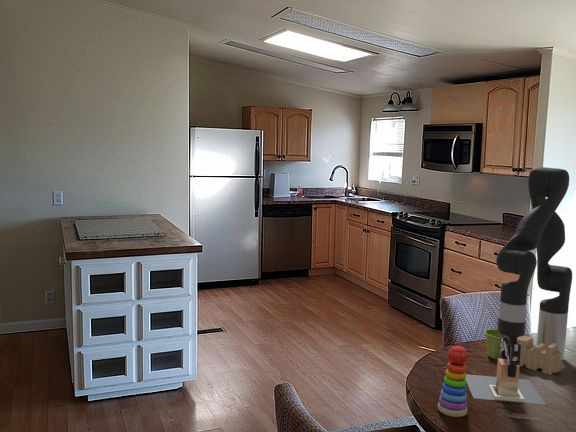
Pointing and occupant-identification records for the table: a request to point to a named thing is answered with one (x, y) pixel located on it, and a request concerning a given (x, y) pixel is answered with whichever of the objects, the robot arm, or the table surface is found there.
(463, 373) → the stacking toy
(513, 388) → the maple block
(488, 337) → the plant pot
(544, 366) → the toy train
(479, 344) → the table surface
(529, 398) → the board
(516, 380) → the terracotta block
